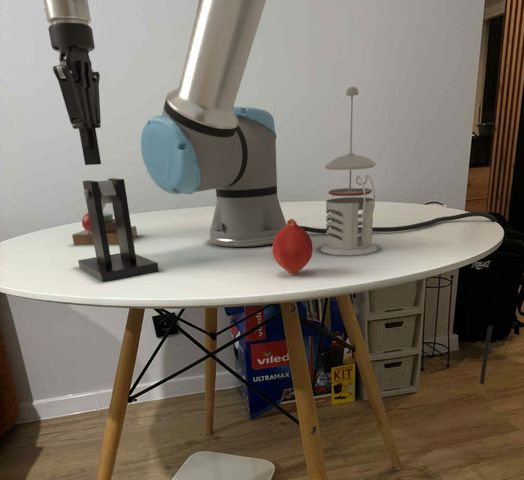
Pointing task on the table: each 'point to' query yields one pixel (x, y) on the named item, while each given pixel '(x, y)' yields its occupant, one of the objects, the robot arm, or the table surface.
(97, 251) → the bracket
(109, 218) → the button
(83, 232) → the button block
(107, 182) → the lever
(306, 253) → the onion
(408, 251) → the table surface
